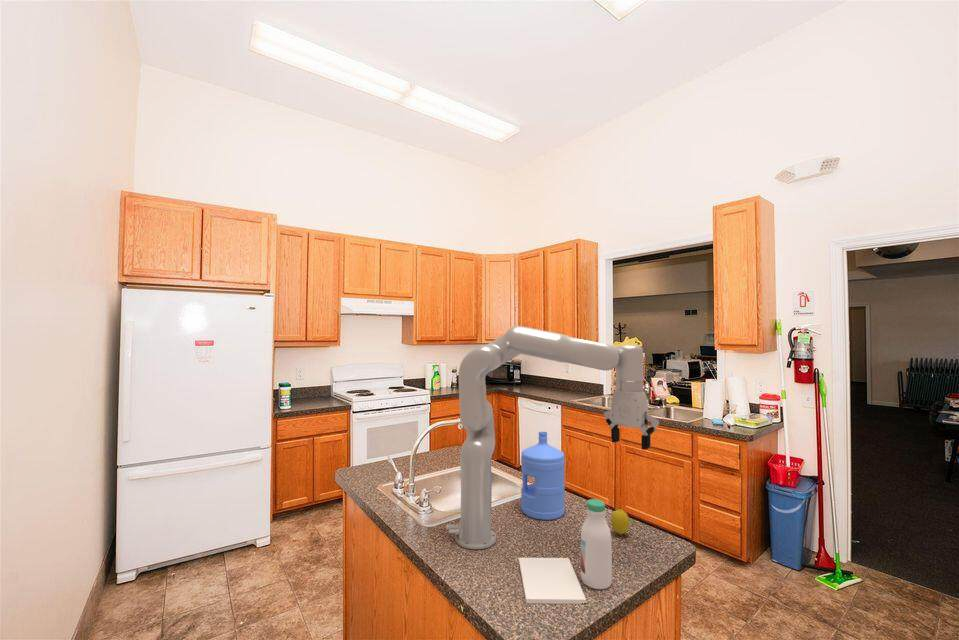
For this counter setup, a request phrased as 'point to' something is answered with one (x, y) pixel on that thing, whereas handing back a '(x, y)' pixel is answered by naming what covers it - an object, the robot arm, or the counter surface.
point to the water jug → (543, 481)
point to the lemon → (620, 521)
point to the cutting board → (550, 581)
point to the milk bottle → (596, 547)
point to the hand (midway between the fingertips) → (630, 445)
